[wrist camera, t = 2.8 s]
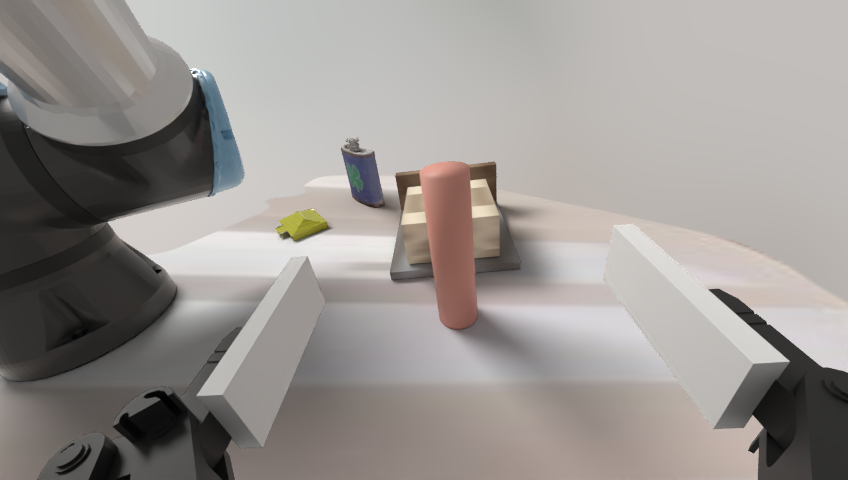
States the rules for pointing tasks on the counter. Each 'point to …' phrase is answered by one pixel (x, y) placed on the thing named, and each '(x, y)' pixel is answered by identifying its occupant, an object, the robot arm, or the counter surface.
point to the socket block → (482, 218)
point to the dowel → (451, 240)
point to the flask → (362, 174)
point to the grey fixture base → (486, 264)
